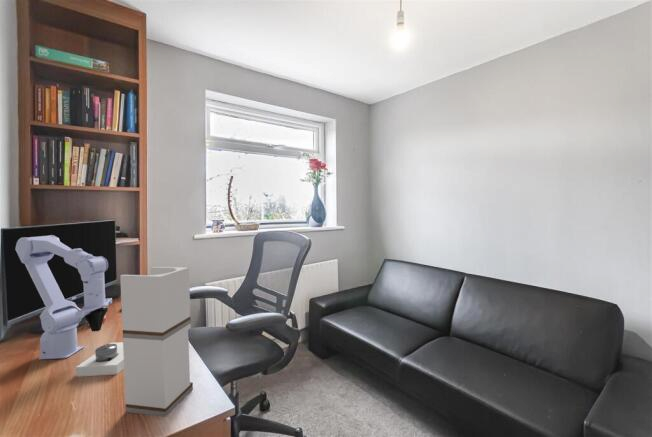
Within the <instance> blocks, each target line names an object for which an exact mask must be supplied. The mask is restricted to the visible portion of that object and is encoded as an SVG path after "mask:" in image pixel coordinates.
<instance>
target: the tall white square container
mask: <svg viewBox="0 0 652 437" xmlns="http://www.w3.org/2000/svg"><path fill="white" fill-rule="evenodd" d="M119 276H120V277H119V279H120V300H121V305H120V306H121V327H122V328H121V329H122V342H123V354H124V369H123V375H124V378H123V379H124V397H125V398H124V399H125V412H126V413H133V414H134V413H135V414H142V415H151V416H155V417H163V418H164V417H167V416H168V415H169V414H170V413H171V412H172V411H173V410H174V409H175V408H176V407H177V406H178V405H179V404H180V403H181V402H182V401H183V400H185V398H186V397H187V396H188V395H189V394H190V393H191V392H192V391H193V390H194V389H193V388H194V386H193V382H191V378H190V377H191V376H190V375H191V373H190V351H189V350H190V346H189V343H190V342H189V340H190V339H189V330H191V329H192V325H191V324H192V323H191V296H190V295H191V294H190V291H191V290H190V288H191V287H190V268H189V267H185V266H184V267H182V266H181V267H180V266H179V267H178V266H175V267H174V266H151V267H150V274H147V275H145V274H121V275H119Z"/></svg>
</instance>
